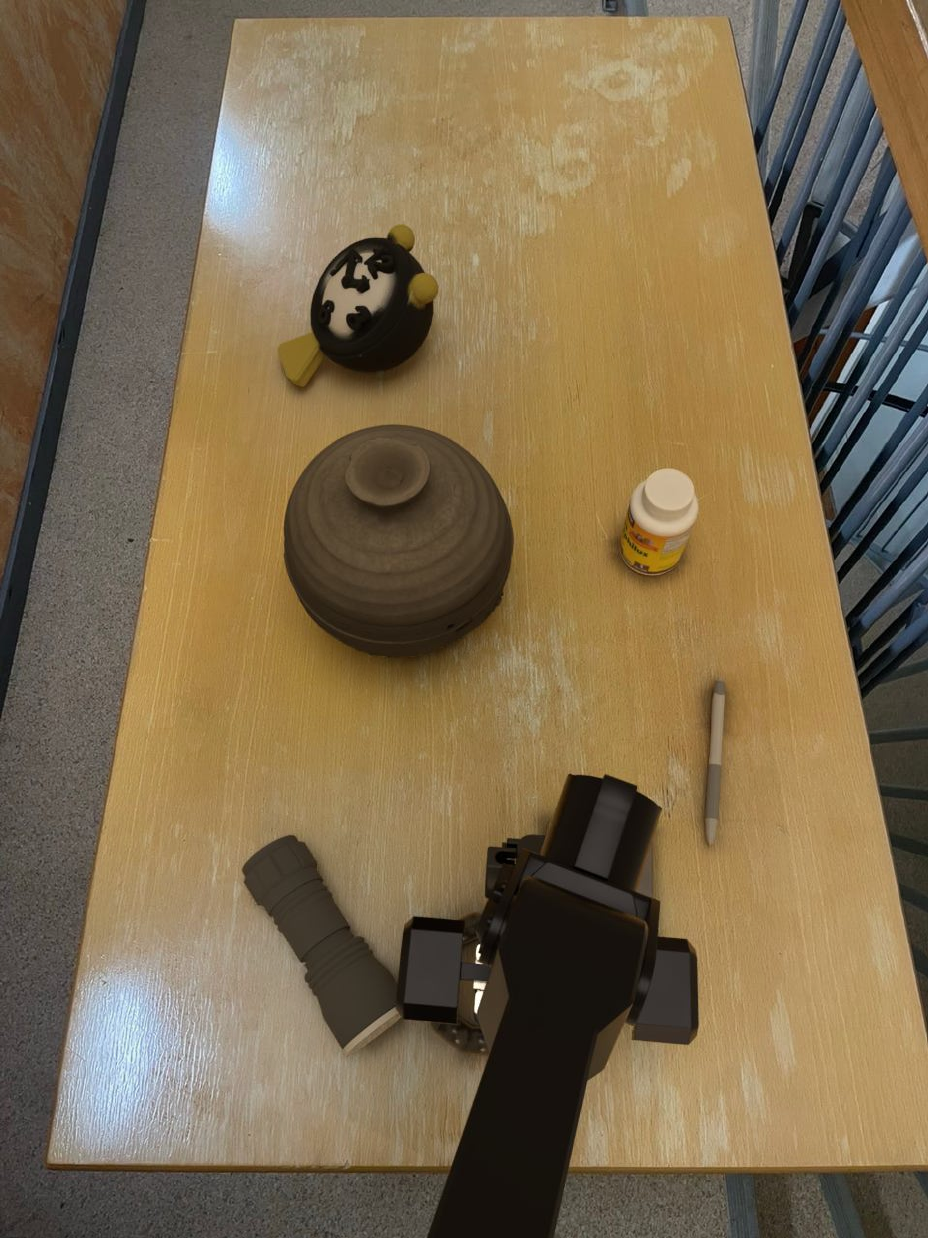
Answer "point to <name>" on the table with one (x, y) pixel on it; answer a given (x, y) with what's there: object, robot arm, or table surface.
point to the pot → (397, 541)
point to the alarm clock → (366, 309)
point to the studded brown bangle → (460, 1033)
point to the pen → (715, 761)
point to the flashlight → (323, 943)
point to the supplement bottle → (658, 522)
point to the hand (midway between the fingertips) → (539, 987)
